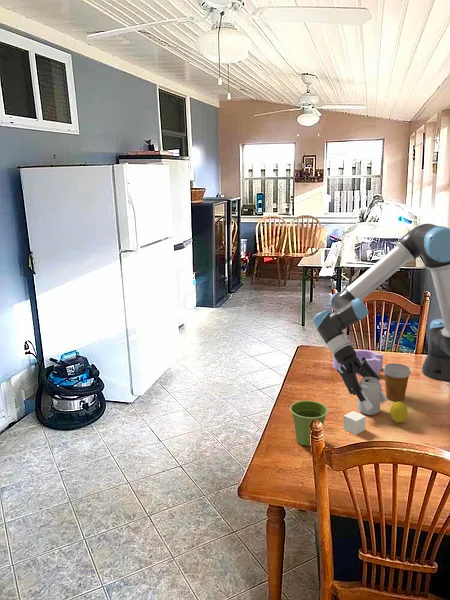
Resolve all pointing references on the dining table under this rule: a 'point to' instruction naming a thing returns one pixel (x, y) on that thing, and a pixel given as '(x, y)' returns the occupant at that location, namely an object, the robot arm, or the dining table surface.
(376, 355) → the clip
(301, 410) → the plant pot
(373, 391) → the can
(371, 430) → the dining table surface
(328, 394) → the dining table surface
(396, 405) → the lemon
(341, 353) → the robot arm
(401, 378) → the disposable coffee cup
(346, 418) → the cream wooden block
